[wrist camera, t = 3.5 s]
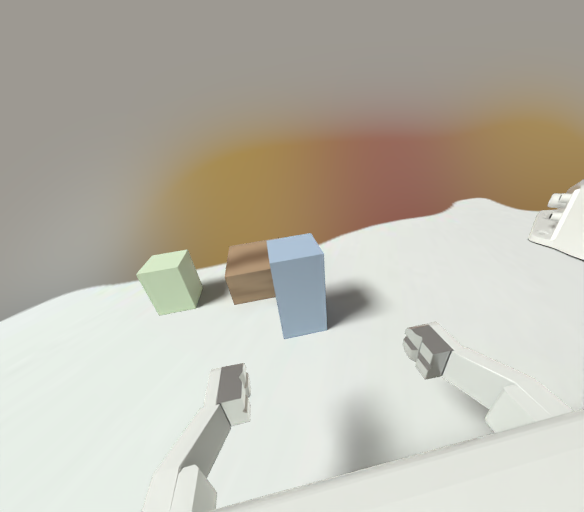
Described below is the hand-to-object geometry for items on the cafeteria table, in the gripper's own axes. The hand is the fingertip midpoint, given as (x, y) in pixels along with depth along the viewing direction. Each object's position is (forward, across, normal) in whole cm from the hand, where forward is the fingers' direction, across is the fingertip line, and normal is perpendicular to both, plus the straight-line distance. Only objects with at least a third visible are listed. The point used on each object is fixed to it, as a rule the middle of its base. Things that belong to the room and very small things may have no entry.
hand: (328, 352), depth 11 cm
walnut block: (+22, +4, +10) cm, 24 cm away
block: (+21, +16, +10) cm, 28 cm away
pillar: (+13, 0, +10) cm, 16 cm away
